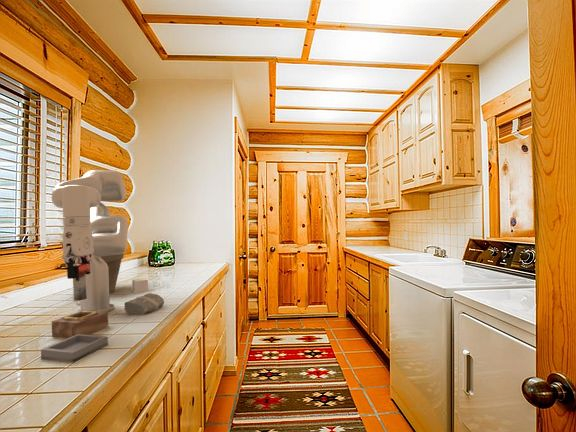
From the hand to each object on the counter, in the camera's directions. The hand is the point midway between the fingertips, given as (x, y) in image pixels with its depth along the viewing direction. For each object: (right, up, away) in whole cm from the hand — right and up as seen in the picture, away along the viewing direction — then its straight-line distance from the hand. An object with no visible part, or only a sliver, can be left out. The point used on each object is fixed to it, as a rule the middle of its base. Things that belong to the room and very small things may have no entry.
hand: (79, 275), depth 103 cm
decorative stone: (+12, -19, +21) cm, 31 cm away
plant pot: (-27, -20, +54) cm, 63 cm away
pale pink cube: (-6, -19, +55) cm, 59 cm away
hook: (0, -8, 0) cm, 8 cm away
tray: (+10, -18, -16) cm, 26 cm away
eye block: (+1, -19, 0) cm, 19 cm away
